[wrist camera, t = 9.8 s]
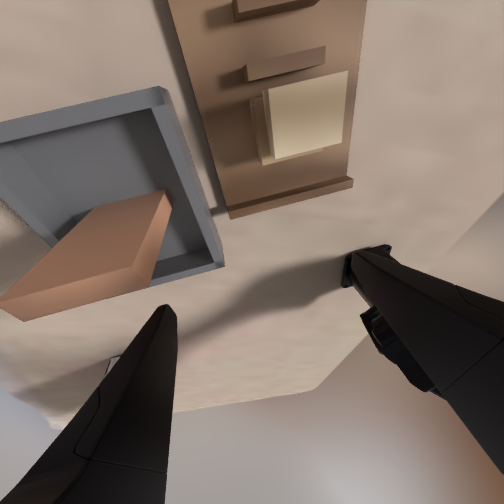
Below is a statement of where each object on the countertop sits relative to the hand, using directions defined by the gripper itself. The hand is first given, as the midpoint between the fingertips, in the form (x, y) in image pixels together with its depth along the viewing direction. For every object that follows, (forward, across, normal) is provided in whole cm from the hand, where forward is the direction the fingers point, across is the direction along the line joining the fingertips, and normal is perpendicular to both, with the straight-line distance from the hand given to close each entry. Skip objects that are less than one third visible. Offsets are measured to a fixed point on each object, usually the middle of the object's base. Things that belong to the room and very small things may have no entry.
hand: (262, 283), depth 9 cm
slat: (+11, +8, -2) cm, 14 cm away
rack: (+12, -5, -6) cm, 15 cm away
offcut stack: (+12, -5, -5) cm, 14 cm away
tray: (+12, +9, -2) cm, 15 cm away
